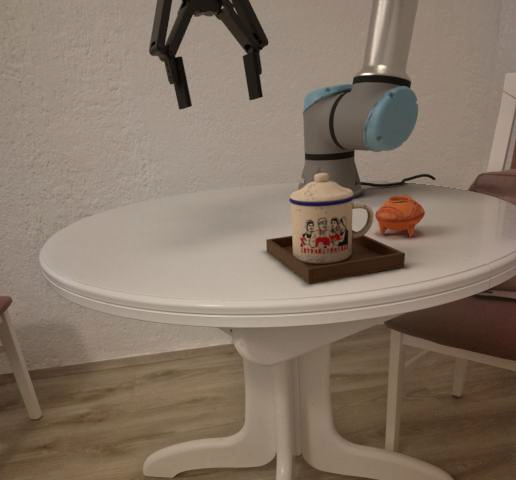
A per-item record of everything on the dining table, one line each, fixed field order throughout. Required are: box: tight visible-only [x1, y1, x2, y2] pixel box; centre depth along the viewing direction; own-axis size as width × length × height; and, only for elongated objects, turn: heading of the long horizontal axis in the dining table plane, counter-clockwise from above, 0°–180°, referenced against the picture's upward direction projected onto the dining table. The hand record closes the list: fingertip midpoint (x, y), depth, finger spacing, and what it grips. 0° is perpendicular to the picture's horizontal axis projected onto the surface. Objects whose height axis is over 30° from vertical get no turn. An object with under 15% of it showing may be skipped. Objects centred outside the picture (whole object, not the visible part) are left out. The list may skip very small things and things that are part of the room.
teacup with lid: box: [288, 173, 374, 264], centre depth 69 cm, size 12×9×12 cm
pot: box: [374, 194, 426, 238], centre depth 80 cm, size 8×8×7 cm
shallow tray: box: [265, 229, 406, 285], centre depth 71 cm, size 14×17×2 cm
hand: (222, 103), depth 76 cm, fingers open, 13 cm apart
